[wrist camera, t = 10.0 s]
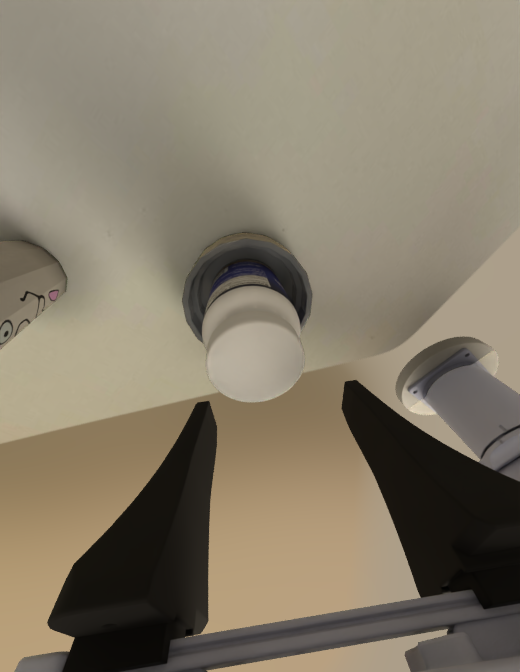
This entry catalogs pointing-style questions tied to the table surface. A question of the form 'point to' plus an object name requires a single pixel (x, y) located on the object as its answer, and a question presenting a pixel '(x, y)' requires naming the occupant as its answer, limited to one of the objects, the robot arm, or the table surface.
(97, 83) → the table surface
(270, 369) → the pill bottle
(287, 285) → the bowl
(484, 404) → the robot arm
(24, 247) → the cup
